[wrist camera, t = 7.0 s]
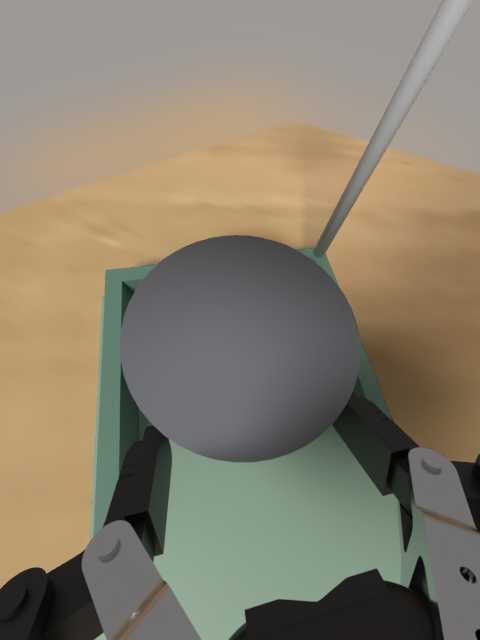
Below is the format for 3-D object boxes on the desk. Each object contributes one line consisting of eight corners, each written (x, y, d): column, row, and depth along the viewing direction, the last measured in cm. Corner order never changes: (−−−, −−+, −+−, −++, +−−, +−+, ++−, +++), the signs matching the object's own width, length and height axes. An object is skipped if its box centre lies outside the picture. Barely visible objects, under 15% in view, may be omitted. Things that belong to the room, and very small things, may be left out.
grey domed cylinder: (285, 293, 19) (316, 226, 13) (326, 427, 15) (402, 428, 9) (156, 311, 18) (119, 246, 11) (166, 464, 14) (119, 496, 7)
